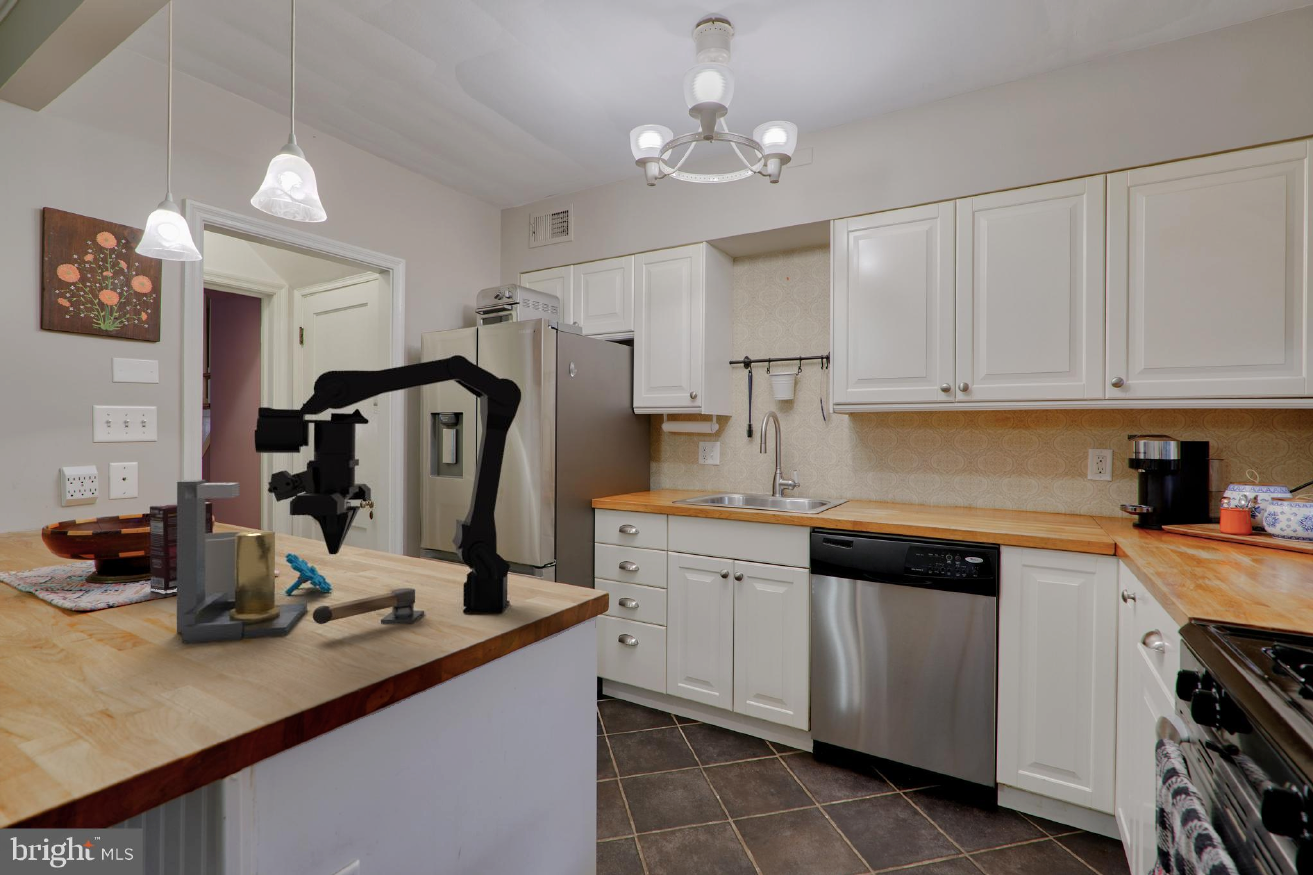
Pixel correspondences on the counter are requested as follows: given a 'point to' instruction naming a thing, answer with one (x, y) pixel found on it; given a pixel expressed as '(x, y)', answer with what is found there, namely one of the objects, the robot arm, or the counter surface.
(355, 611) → the lever
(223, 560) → the mug
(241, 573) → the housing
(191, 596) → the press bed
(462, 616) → the counter surface
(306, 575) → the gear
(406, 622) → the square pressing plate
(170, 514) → the supplement box
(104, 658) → the counter surface
